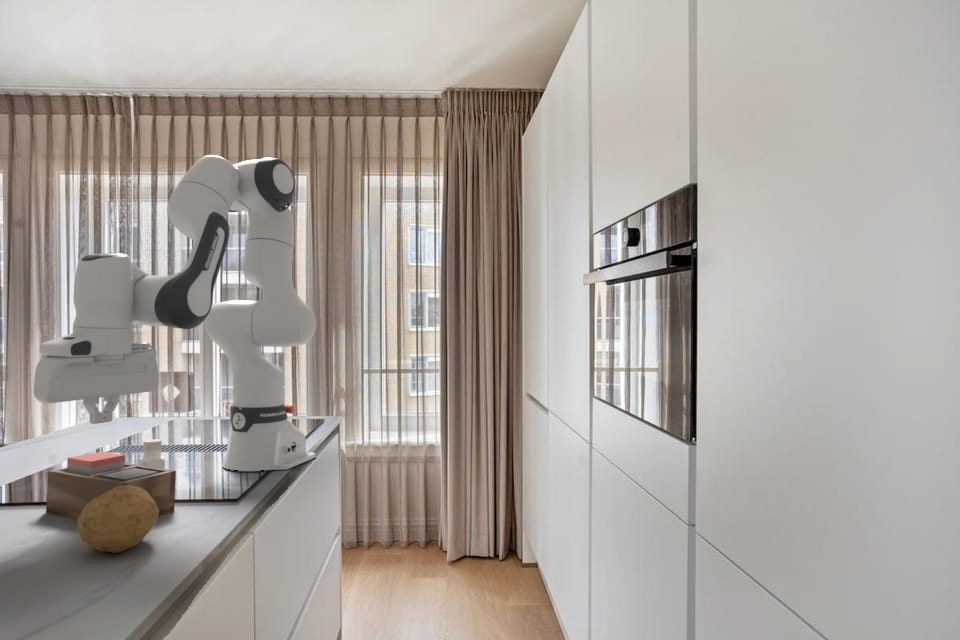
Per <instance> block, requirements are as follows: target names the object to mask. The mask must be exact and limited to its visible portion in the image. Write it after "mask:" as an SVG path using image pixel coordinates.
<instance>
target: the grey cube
mask: <svg viewBox="0 0 960 640" xmlns="http://www.w3.org/2000/svg"><path fill="white" fill-rule="evenodd" d="M157 473H158V472H156V471H150V470H144V469H138V468H132V469H127V470H122V471H118V472H113V473H109V474H104V475H100V478H105V479H110V480H116V481H122V482H123V481H128V480H132V479H136V478H140V477H145V476H149V475H153V474H157Z"/></svg>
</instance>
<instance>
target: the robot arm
mask: <svg viewBox="0 0 960 640" xmlns="http://www.w3.org/2000/svg"><path fill="white" fill-rule="evenodd" d="M295 188H296V179H295V176H294V173H293V171H292V169H291V167H290V166H289V165H288V164H287V163H286V162H285V161H284V160H282V159H280V158H274V157H262V158H261V159H250V160H244V161H241V162H239V163H235V164H233V163H232V162H231V161H229V160H228V159H226V158H224V157H222V156H219V155H214V154H209V155H204V156H202V157H200V158H199V159H198V160H197V161H196V162H195V163H193V165H191V167H190V168H189V169H188V170H187V172H185V173H184V175H183V177H182V178H181V180H180V181H179V182H178V184H177V185H176V187H175V189H174V190H173V191H172V193H171V195H170V198H169V199H168V203H167V206H166V210H167V214H168V217H169V219H170V222H171V224H172V225H173V226H174V227H175V228H176V230H177V231H179V232H180V233H181V234H182V235H184V236H186V238H189V239H191V240H193V241H194V242H193V244H192V248H191V250H190V253H189V254H188V255H189V256H188V258H187V261H186V263H185V266H184V268H183V269H182V270H180V271H179V272H177V273H174V274H171V275H152V274H150V273H148V272H146V271H144V270H143V269H141V268H139V267H138V266H137V265H135V264H134V262H133V261H132V259H131V257H130V256H129V255H128V254H126V253H121V252H116V253H115V252H114V253H113V252H110V253H109V252H108V253H92V254H87V255H84V256H83V257H82V258H81V259H80V260H79V262H78V263H77V266H76V269H75V275H74V282H73V306H74V308H75V318H74V321H73V324H72V333H70V334H66V335H64V336H60V337H57V338H54V339H51V340H47V341H45V342H42V343H41V344H39V353H40V355H42V356H44V357H42V358H41V359H39V360H38V363H37V364H36V368H35V372H34V381H33V396H34V398H35V399H36V400H37V401H38V402H39V403H44V404H55V403H56V404H57V403H65V402H72V401H82V405H83V407H84V408H85V409H86V411H87V412H88V414H89V423H90V424H92V425H96V424H103V423H110V422H112V421H113V414H114V411H115V409H116V408H117V406H118V405H119V403H120V396H124V395H134V394H141V393H142V394H143V393H149V392H150V393H152V392H155V391H156V390H157V389H158V387H159V384H160V377H159V367H158V362H157V355H158V354H157V349H156V348H155V347H154V346H153V345H151V344H150V343H149V342H142V343H137V342H136V343H135V342H133V332H134V331H133V326H135V325H136V326H137V325H139V326H150V327H168V328H174V329H180V330H192V329H195V328H197V327H199V326H201V324H202V323H203V322H204V324H203V325H204V330H205V332H206V334H207V336H208V338H209V339H210V340H211V341H212V342H213V343H215V344H216V345H217V346H219V348H220V349H221V350H222V351H223V353H224V354H225V356H226V357H227V360H228V362H229V364H230V368H231V372H232V388H233V390H232V405H231V406H230V411H229V414H230V415H229V421H230V423H231V426H230V428H229V434H228V440H227V447H226V453H225V456H224V457H223V464H222V468H223V467H224V469H225V468H226V470H228V469H230V470H229V471H234V470H238V471H237V472H262V471H261V470H264V471H273V470H274V471H276V470H277V471H279V470H280V471H281V470H289V469H291V468H293V467H296V466H298V465H300V464H303V463H305V462H308V461H310V460H313V459H314V458H316V453H315V452H313V451H311V450H307V444H306V443H307V442H306V435H305V433H303V432H302V430H300V429H299V428H298V427H296V425H295V424H294V423H292V422H291V421H289V419H288V418H289V417H288V414H294V413H295V412H296V407H295V405H293V404H291V405H289V404H286V405H285V404H283V403H284V374H283V372H282V370H281V369H280V368H279V366H277V365H276V364H274V363H272V362H271V361H268V359H266V358H265V356H264V354H263V350H262V347H271V348H289V347H290V348H292V347H297V346H302V345H306V344H308V343H309V342H311V340H312V339H313V337H314V335H315V333H316V330H317V318H316V315H315V313H314V311H313V309H312V308H311V307H310V306H309V304H306V302H304V301H303V299H302V298H300V296H299V295H298V293H297V291H296V288H295V286H294V282H293V260H294V259H293V257H294V248H295V247H294V245H295V224H294V215H293V213H292V211H291V210H290V209H289V207H290V206H291V205H292V202H293V197H294V194H295ZM245 211H246V212H247V215H248V219H249V225H248V229H247V234H246V239H245V246H244V256H243V263H242V264H243V265H242V272H243V273H242V274H243V275H244V277H245V279H246V280H247V281H248V282H249V283H251V284H253V285H254V286H255V287H257V288H260V289H261V290H262V294H263V295H262V299H260V300H255V299H254V300H250V299H249V300H248V299H231V300H225V301H220V302H216V303H213V297H214V289H215V285H216V282H217V278H218V275H219V272H220V269H221V266H222V263H223V260H224V256H225V253H226V250H227V247H228V243H229V238H230V225H229V223H228V221H227V217H228V215H229V213H237V212H245ZM100 398H103V401H104V402H106V403H105V405H104V407H103V409H102V410H101V411H100V410H99V408H98V406H97V405H99V404H100Z"/></svg>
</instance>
